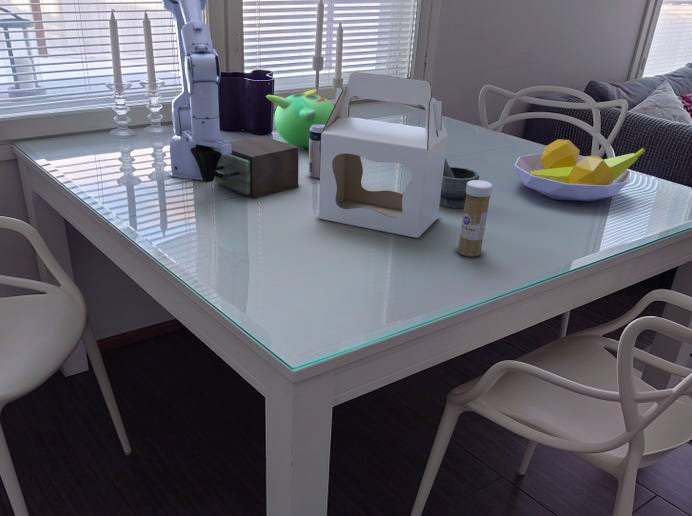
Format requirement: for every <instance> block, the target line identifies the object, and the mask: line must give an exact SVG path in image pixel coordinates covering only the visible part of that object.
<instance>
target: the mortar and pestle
mask: <svg viewBox="0 0 692 516" xmlns="http://www.w3.org/2000/svg"><path fill="white" fill-rule="evenodd" d="M472 180H480V175H479V173H478V171H475V170H473V169H470V168H467V167H461V166H460V167H459V166H450V164H449V162H448V160H447V159H446V157H445V163H444V171H443V179H442V187H441V195H440V203H439V205H440V206H443V207H445V208H451V209H458V208H459V209H460V208H461V209H463V208H464V207H465V201H466V187H467V183H468V182H469V181H472Z"/></svg>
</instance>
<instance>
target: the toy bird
mask: <svg viewBox="0 0 692 516" xmlns="http://www.w3.org/2000/svg"><path fill="white" fill-rule="evenodd" d="M317 91H318V89H311V90H307V91H303V92H298V93H294V94H291V95H289V96H287V97H283V96H278V95H273V94H267V95H266V96H265V98H266V99H267V100H269V101H270V102H272V103H273V104H275V105H277V106H276V109H275V111H274V117H273V122H274V127H275V130H276V131H277V133H278V135H279V136H280V138H282V139H283V141H285V142H286V143H287V144H290V145H293V146H297V147H299V148H304V149H309V131H310V128H311V126H312V125H313V124H325V125H326V123H327V121H328V118H329V116H330V114H331V112H332V110H333V108H334V106H335V105H334V104H333V103H332V102H331V101H329V100H328V99H327V98H325V97H324V96H322V95H318V94H316V92H317ZM338 117H339V116H338ZM337 120H338V119H337Z"/></svg>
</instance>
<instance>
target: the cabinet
mask: <svg viewBox="0 0 692 516" xmlns="http://www.w3.org/2000/svg"><path fill="white" fill-rule="evenodd" d="M227 143H229V144H231V147H232V154H235V155H238V156H240V157H243V158H246V159H249V160H250V170H251V194H248V195H247V194H244V193H242V192H239V191H237V190H234V189H231V188H229V187H226V186H224V185H221V184H219V183H217V184H218V185H219V186H221V187H224V188H226V189H229V190H232V191H233V192H236V193H239V194H241V195H244V196H246V197H249V198H251V199H256V198H259V197H264V196H267V195H272V194H275V193H279V192H283V191H286V190H290V189H294V188H299V166H300V165H299V163H300V162H299V158H300V152H299V150H300V147H297V146H294V145H292V144H290V143H288V142H283V141H280V140H277V139H274V138H271V137H268V136H266V135H265V136H264V135H259V136H255V137H249V138H244V139H238V140H233V141H229V142H227Z"/></svg>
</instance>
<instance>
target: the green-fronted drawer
mask: <svg viewBox="0 0 692 516" xmlns="http://www.w3.org/2000/svg"><path fill="white" fill-rule="evenodd" d="M214 181H215V183H217V184H218V183H219V184H221V185H224V186H226V187H229V188H231V189H234V190H237V191H239V192H242V193H244V194H247V195H248V194H251V170H250V160H249V159H246V158H243V157H240V156H238V155H235V154H227V155H222V156H221V158H220V160H219V162H218V165H217V169H216V174H215V179H214ZM219 184H218V185H219ZM221 185H220V186H221ZM224 186H223V187H224ZM226 187H225V188H226ZM229 188H228V189H229ZM231 189H230V190H231ZM234 190H233V191H234ZM239 192H238V193H239ZM244 194H243V195H244Z"/></svg>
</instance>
